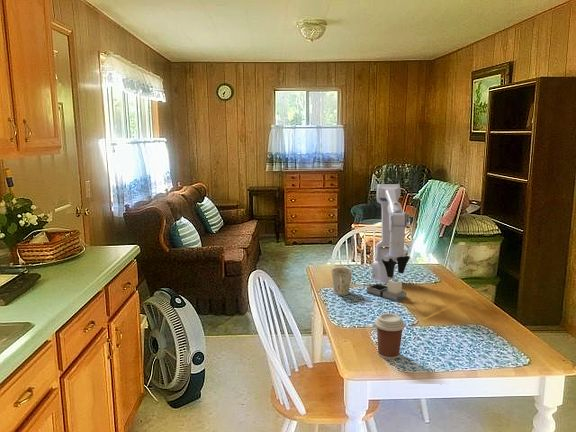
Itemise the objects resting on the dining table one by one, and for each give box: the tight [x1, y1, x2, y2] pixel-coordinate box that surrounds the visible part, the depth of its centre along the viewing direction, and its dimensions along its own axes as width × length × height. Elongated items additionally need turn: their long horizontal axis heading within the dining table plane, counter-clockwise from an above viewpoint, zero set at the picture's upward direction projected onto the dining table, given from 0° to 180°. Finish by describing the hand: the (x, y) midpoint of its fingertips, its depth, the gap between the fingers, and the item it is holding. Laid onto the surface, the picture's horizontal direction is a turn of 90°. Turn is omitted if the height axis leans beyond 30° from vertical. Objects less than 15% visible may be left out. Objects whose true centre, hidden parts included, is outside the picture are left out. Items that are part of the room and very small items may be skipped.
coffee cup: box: [374, 312, 406, 360], centre depth 148 cm, size 9×9×12 cm
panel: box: [365, 283, 408, 303], centre depth 200 cm, size 15×9×3 cm, turn 43°
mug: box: [331, 267, 353, 296], centre depth 200 cm, size 8×13×10 cm, turn 174°
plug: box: [387, 277, 403, 295], centre depth 197 cm, size 4×4×8 cm
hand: (395, 275), depth 196 cm, fingers open, 7 cm apart
